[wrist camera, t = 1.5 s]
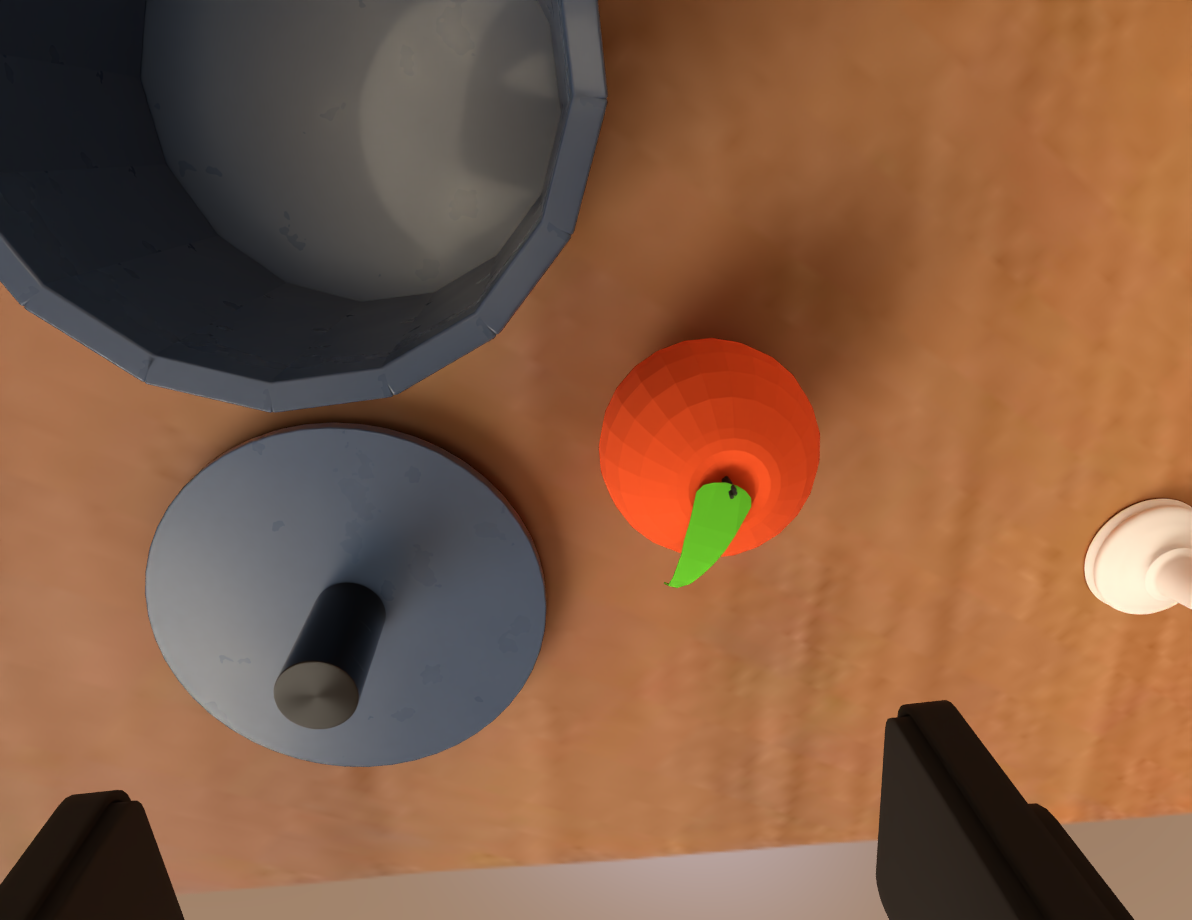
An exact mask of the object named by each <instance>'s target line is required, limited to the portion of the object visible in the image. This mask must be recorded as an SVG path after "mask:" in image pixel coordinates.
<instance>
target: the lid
mask: <svg viewBox="0 0 1192 920" xmlns="http://www.w3.org/2000/svg"><path fill="white" fill-rule="evenodd" d="M145 596H146V602H147V609H148V616H149V620H150V623H151V627H152V630H153V633H154V636H155V640H156V642H157V644H158V646H159V648H160V650H161V652H162V655H163V657H164V659H165V661H166V662H167V664H168V665H169V667H170V668H171V670H172V672H173V673H174V675H175V676H176V678H177V679H178V681H179V682H180V683H181V684H182V685H183V687H184V688H185V689H186V690H187V691H188V692H189V694H190V695H191V696H192V697H193V698H194V699H195V700H196V701H197V702H198V703H199V704H200V705H201V706H202V707H203V708H204V709H206V710H207V711H208V712H209V713H210V714H211V715H212V716H214V717H215V718H216V719H218V720H219V721H220V722H222V723H223V724H225V725H226V726H227V727H229V728H230V729H232V730H233V731H235V732H237V733H239V734H240V735H242V736H244V737H245V738H247V739H249V740H251V741H253V742H255V743H257V744H259V745H262V746H264V747H266V748H268V749H271V750H273V751H276V752H279V753H282V754H285V755H288V756H291V757H294V758H297V759H302V760H306V761H311V762H315V763H320V764H328V765H337V766H350V767H372V766H383V765H393V764H398V763H403V762H408V761H414V760H417V759H421V758H424V757H427V756H430V755H434V754H437V753H439V752H441V751H444V750H446V749H448V748H451V747H453V746H455V745H457V744H459V743H461V742H463V741H464V740H466V739H468V738H469V737H471V736H473V735H475V734H476V733H478V732H479V731H480V730H482V729H483V728H484V727H486V726H487V725H488V724H489V723H491V722H492V721H493V720H495V719H496V718H497V717H498V716H499V715H500V714H501V713H502V712H503V711H504V710H505V709H506V708H507V707H508V706H509V705H510V703H511V702H512V701H513V699H514V698H515V697H516V695H517V694H518V693H519V692H520V690H521V689H522V688H523V686H524V684H525V682H526V681H527V679H528V677H529V675H530V674H531V672H532V670H533V668H534V665H535V663H536V660H537V657H538V655H539V652H540V649H541V645H542V640H543V636H544V631H545V622H546V591H545V579H544V575H543V571H542V567H541V563H540V558H539V555H538V553H537V550H536V548H535V545H534V543H533V541H532V538H531V536H530V534H529V532H528V530H527V529H526V527H525V525H524V524H523V522H522V520H521V518H520V517H519V515H518V514H517V512H516V511H515V510H514V508H513V507H512V506H511V505H510V503H509V502H508V501H507V499H506V498H505V497H504V496H503V495H502V494H501V493H500V492H499V491H498V490H497V489H496V488H495V487H494V486H493V485H492V484H491V483H490V482H489V481H488V480H487V479H486V478H485V477H484V476H483V475H481V474H480V473H479V472H477V471H476V470H475V469H473V468H472V467H471V466H469V465H468V464H467V463H466V462H464V461H463V460H461V459H459V458H457V457H456V456H454V455H452V454H451V453H449V452H447V451H445V450H444V449H442V448H440V447H438V446H436V445H433V444H431V443H429V442H426V441H424V440H422V439H419V438H417V437H415V436H411V435H408V434H405V433H401V432H398V431H394V430H391V429H387V428H381V427H376V426H370V425H364V424H353V423H333V422H332V423H318V424H304V425H299V426H294V427H289V428H284V429H279V430H275V431H272V432H269V433H266V434H264V435H261V436H258V437H255V438H252V439H250V440H248V441H246V442H244V443H242V444H240V445H238V446H236V447H234V448H232V449H230V450H228V451H226V452H225V453H223V454H222V455H221V456H219V457H218V458H216V459H215V460H213V461H212V462H210V463H209V464H208V465H206V466H205V467H204V468H203V469H202V470H201V471H200V472H199V473H198V474H197V475H196V476H195V477H194V478H193V479H191V480H190V481H189V482H188V483H187V484H186V485H185V486H184V487H183V488H182V490H181V491H180V492H179V494H178V495H177V496H176V497H175V499H174V500H173V501H172V503H171V504H170V505H169V507H168V508H167V510H166V512H165V514H164V516H163V517H162V519H161V521H160V523H159V525H158V527H157V529H156V532H155V535H154V538H153V541H152V544H151V546H150V550H149V555H148V561H147V567H146V586H145Z"/></svg>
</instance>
